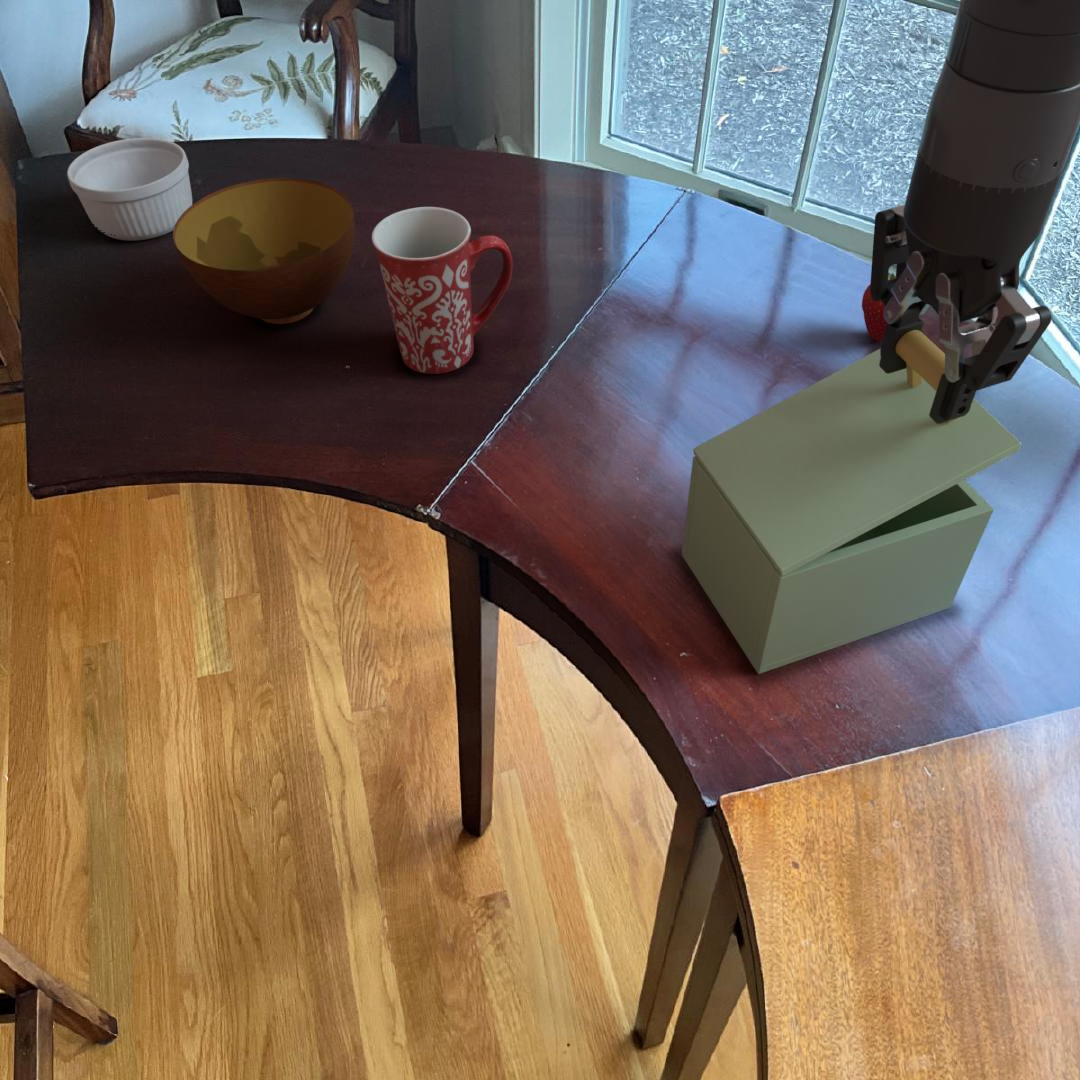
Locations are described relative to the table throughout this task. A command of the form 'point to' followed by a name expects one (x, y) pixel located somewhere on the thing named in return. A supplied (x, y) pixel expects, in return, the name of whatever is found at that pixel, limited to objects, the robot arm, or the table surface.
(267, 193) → the bowl
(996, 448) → the lid
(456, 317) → the mug
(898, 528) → the chest
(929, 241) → the robot arm
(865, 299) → the fruit
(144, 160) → the ramekin
